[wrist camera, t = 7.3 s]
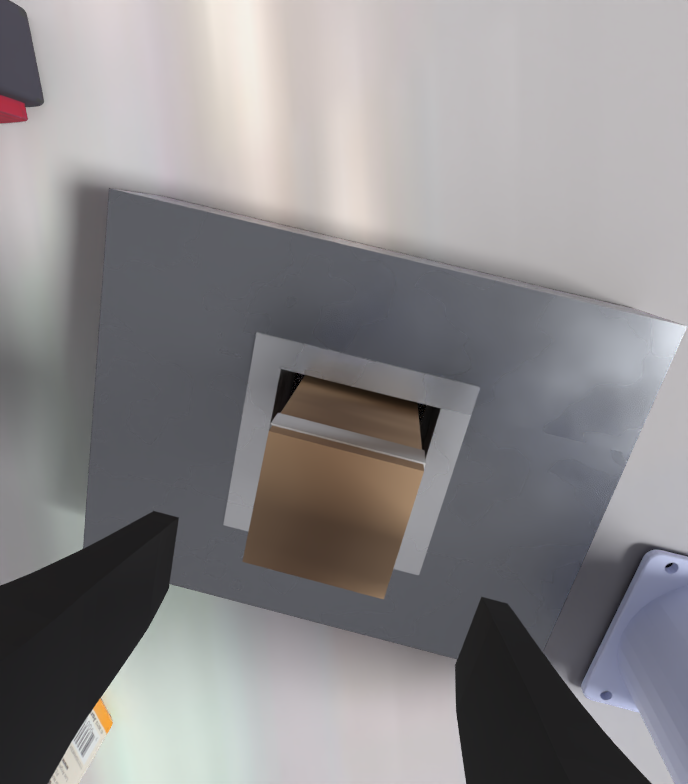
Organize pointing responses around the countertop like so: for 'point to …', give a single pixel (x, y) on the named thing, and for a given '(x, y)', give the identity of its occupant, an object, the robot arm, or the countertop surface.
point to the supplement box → (83, 747)
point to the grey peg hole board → (370, 372)
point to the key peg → (337, 486)
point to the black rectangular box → (17, 65)
